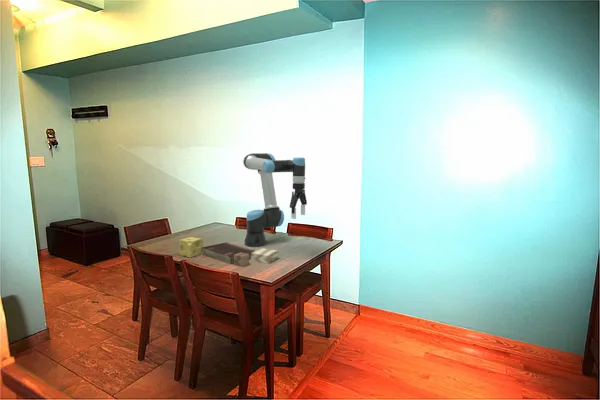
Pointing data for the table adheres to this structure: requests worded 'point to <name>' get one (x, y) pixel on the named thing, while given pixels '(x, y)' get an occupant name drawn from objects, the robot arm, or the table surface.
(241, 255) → the walnut cube
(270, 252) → the birch block
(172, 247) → the table surface
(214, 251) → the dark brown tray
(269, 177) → the robot arm
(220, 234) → the table surface
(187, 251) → the cheese
